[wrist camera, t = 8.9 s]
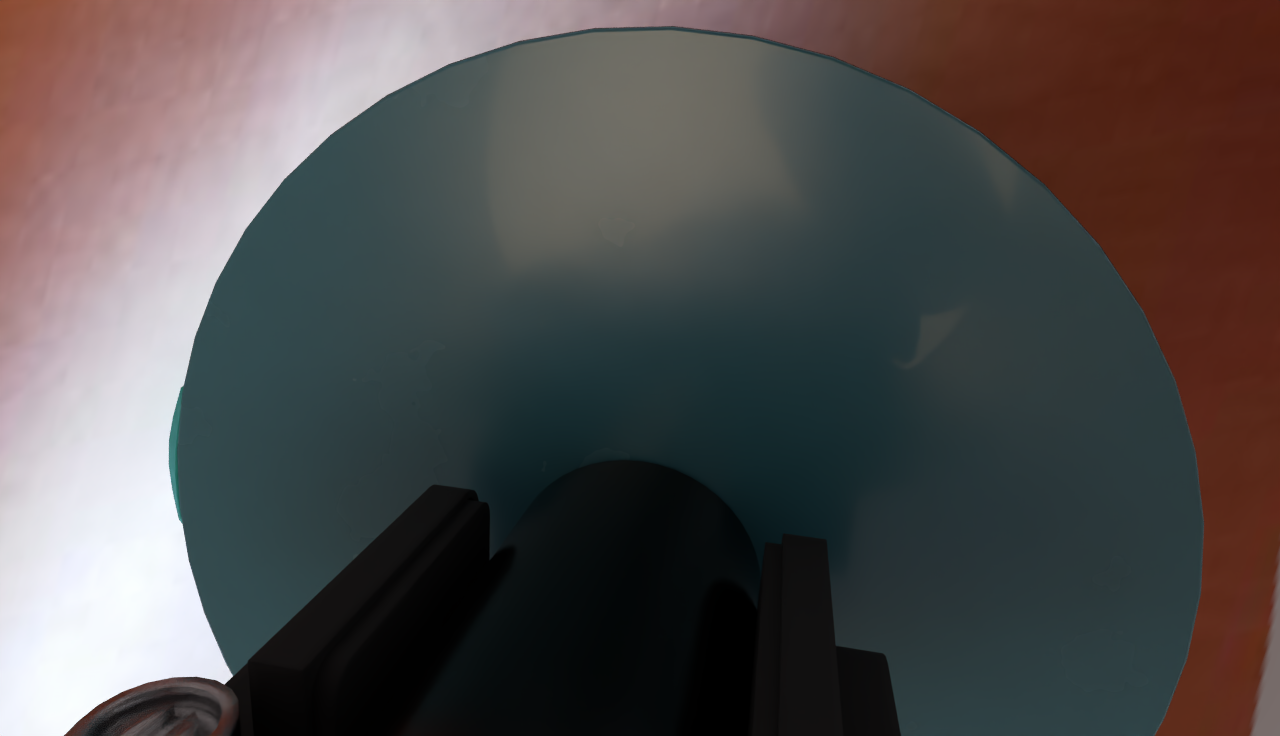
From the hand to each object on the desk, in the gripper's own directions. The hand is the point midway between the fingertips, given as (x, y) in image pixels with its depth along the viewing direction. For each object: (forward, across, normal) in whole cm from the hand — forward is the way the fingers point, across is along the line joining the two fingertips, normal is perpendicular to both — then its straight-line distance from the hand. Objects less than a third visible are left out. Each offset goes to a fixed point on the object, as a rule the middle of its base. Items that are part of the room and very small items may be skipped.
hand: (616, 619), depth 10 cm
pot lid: (+2, 0, 0) cm, 2 cm away
